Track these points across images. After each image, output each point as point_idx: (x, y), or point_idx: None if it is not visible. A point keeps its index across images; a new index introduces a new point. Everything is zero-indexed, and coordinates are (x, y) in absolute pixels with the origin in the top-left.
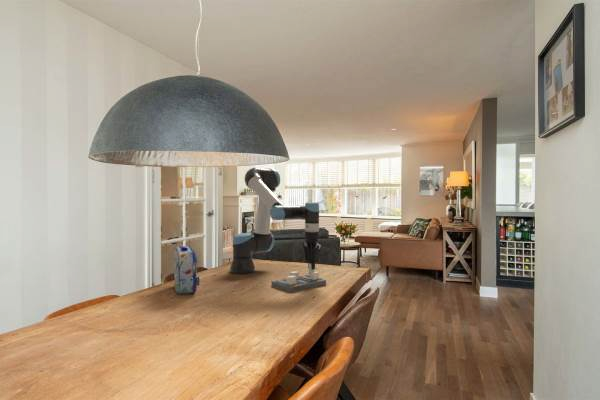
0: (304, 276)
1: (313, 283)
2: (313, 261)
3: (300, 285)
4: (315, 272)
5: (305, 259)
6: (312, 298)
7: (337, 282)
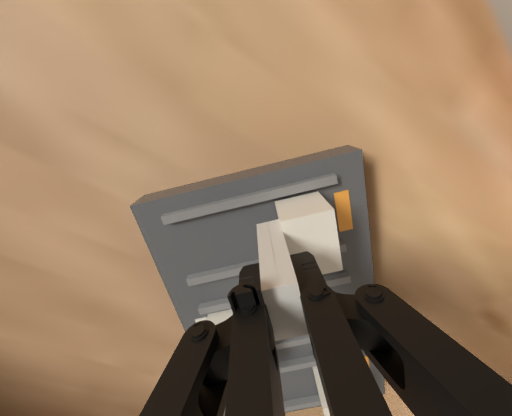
0: (177, 238)
1: (370, 264)
2: (366, 350)
3: None
4: (321, 241)
5: (202, 389)
6: (507, 334)
7: (334, 9)
